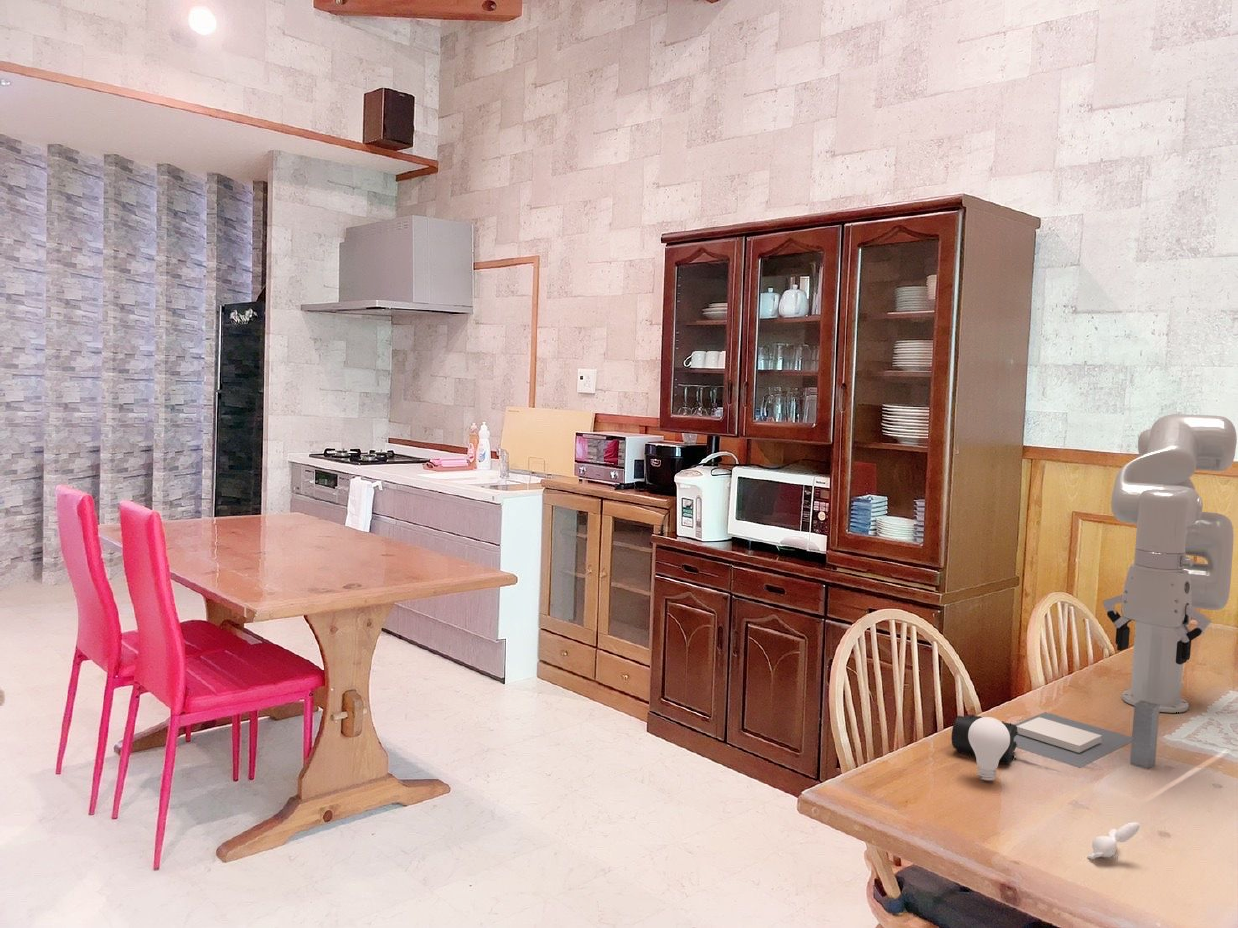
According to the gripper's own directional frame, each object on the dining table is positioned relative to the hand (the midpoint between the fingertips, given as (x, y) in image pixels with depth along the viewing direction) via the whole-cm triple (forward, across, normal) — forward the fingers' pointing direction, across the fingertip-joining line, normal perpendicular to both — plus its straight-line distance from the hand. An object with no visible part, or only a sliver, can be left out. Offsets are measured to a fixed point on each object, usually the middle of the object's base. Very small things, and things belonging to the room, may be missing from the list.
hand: (1151, 656), depth 167 cm
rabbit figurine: (+20, -11, +39) cm, 45 cm away
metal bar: (+21, 0, +1) cm, 21 cm away
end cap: (+21, +20, +19) cm, 34 cm away
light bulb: (+20, +14, +29) cm, 38 cm away
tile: (+19, +15, -4) cm, 24 cm away
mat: (+21, +15, 0) cm, 25 cm away
